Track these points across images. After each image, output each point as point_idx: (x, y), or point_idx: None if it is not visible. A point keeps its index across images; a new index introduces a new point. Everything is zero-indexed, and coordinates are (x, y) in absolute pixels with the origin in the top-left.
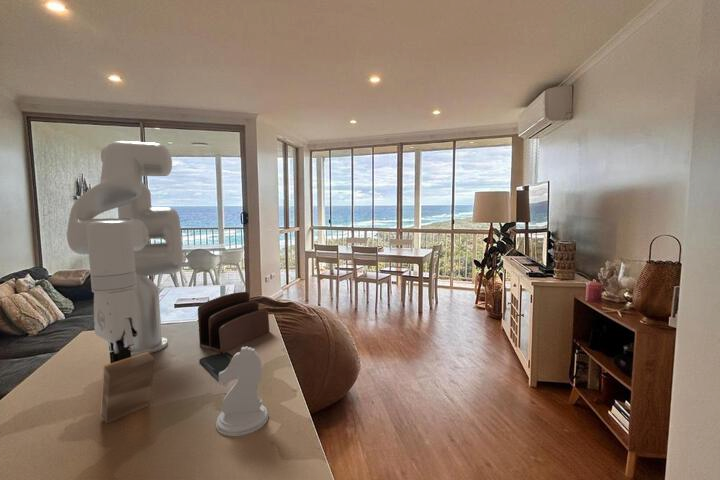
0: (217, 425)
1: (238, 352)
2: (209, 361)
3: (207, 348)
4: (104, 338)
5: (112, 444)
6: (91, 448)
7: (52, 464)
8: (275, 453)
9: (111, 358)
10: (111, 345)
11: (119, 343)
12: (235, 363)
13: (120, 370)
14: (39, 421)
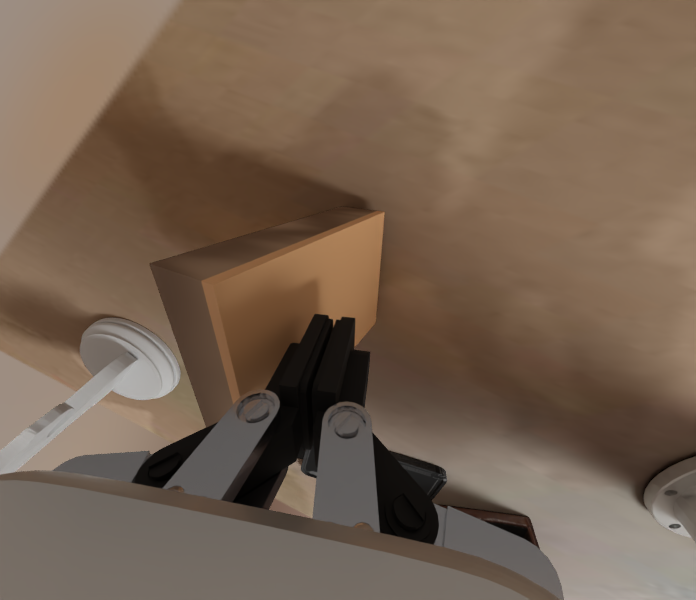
0: (125, 327)
1: None
2: (412, 475)
3: (492, 513)
4: (160, 521)
5: (221, 171)
6: (241, 125)
7: (237, 3)
8: (18, 322)
9: (328, 362)
10: (319, 450)
11: (169, 479)
12: None
13: (167, 313)
14: (602, 54)
